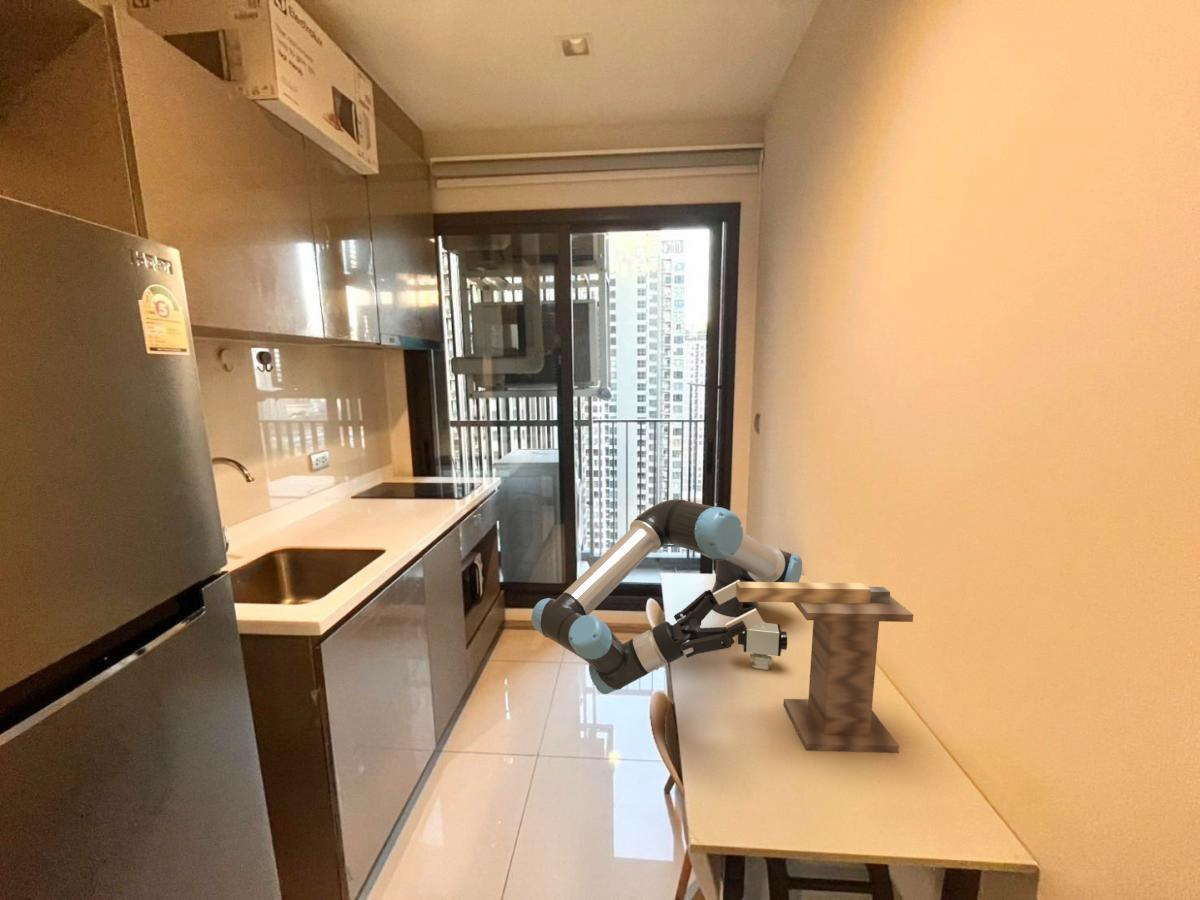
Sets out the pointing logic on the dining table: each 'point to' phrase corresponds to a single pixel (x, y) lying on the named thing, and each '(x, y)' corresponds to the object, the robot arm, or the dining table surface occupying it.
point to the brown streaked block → (810, 592)
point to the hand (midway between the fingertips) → (750, 599)
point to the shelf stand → (844, 678)
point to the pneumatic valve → (763, 643)
